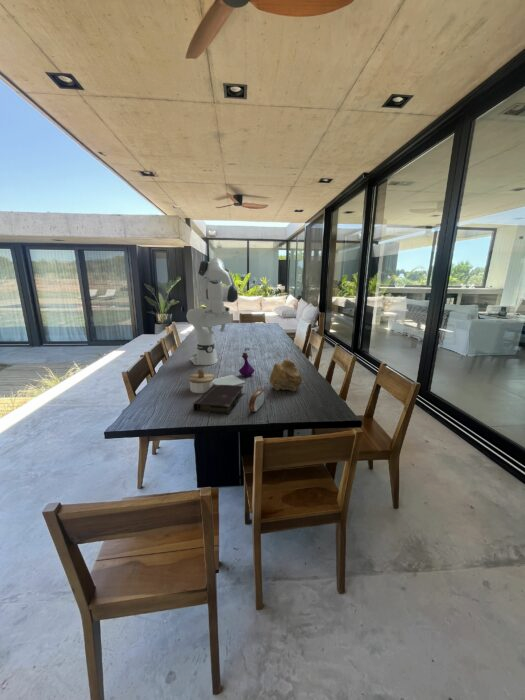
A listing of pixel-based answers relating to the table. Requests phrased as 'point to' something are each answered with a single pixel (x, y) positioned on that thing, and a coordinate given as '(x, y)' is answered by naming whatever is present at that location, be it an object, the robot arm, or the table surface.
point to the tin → (257, 400)
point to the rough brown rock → (285, 376)
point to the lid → (201, 377)
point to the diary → (219, 399)
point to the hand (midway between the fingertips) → (216, 332)
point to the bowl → (200, 387)
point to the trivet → (228, 380)
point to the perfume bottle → (246, 366)
